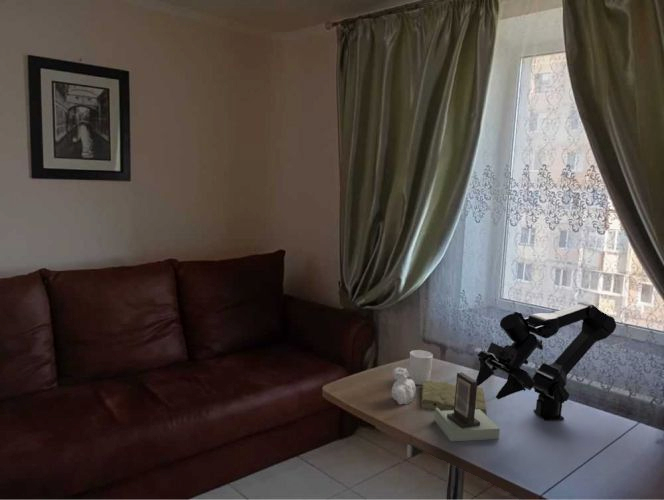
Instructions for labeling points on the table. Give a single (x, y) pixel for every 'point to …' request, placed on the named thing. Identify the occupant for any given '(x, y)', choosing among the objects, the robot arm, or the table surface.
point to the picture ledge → (472, 433)
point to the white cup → (420, 366)
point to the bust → (403, 386)
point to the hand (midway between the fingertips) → (486, 391)
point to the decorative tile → (446, 396)
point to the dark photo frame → (464, 402)
